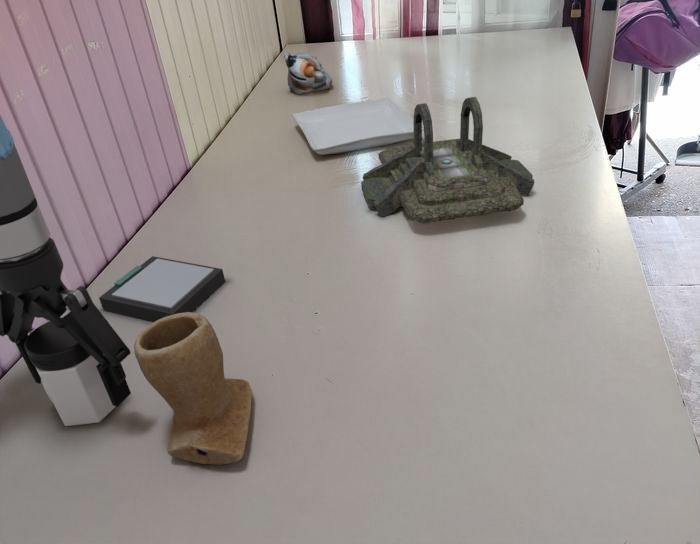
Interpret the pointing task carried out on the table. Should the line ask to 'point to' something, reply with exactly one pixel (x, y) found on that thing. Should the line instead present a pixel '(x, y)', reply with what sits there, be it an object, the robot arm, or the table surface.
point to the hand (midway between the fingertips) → (82, 388)
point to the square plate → (355, 126)
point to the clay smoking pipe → (195, 388)
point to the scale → (162, 289)
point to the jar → (68, 375)
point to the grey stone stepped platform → (446, 174)
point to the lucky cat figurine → (306, 73)
